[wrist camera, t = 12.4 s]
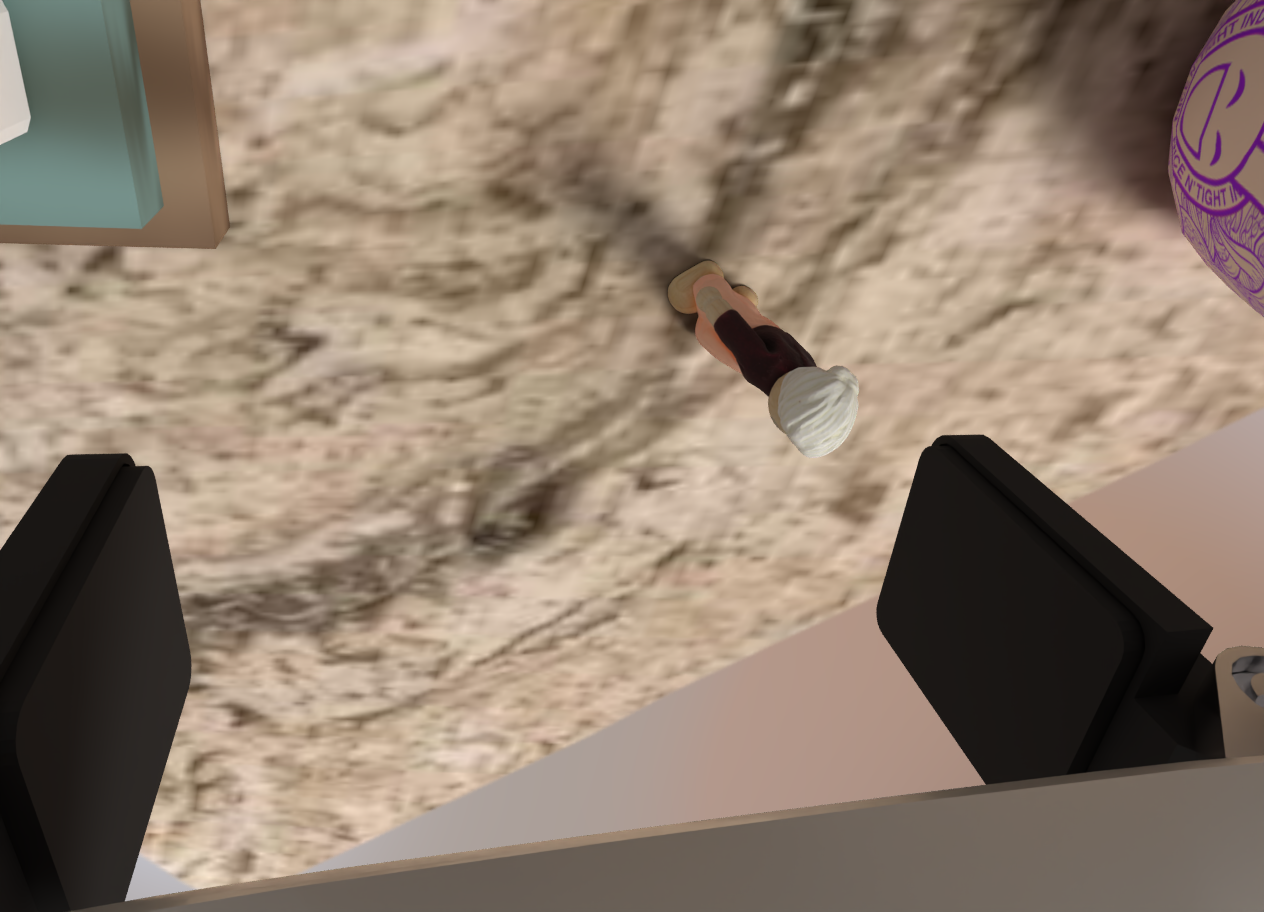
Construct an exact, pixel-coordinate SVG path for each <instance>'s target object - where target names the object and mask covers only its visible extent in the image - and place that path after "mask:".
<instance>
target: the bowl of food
mask: <svg viewBox="0 0 1264 912" xmlns="http://www.w3.org/2000/svg"><path fill="white" fill-rule="evenodd" d="M1168 173H1169V178H1170V182H1171V187H1172V191H1173V195H1174V200H1175V204H1176V208H1177V213H1178V217H1179V221H1180V225H1181V229H1182V233H1183V234H1184V236H1185V237H1186V238H1187V240H1188V241H1189V242H1190V244H1191V245H1192V246H1193V248H1194V249H1195V250H1196V251H1197V253H1198V254H1199V255H1200V257H1201V258H1202V259H1203V261H1204V262H1205V263H1206V265H1207V266H1208V267H1209V268H1210V269H1211V270H1212V271H1213V272H1214V273H1215V274H1216V275H1217V276H1218V277H1219V278H1220V279H1221V280H1222V281H1223V282H1224V283H1225V284H1226V285H1227V286H1228V287H1229V288H1230V289H1231V290H1233V291H1234V292H1235V293H1236V294H1237V295H1238V296H1239V297H1241V298H1242V299H1243V300H1244V301H1245V302H1246V303H1247V304H1248V305H1250V306H1251V307H1252V308H1253V309H1254V310H1256V311H1257V312H1258V313H1259V314H1261V315H1262V316H1263V317H1264V0H1235V2H1234V3H1233V4H1232V5H1231V6H1230V7H1229V8H1228V9H1227V10H1226V11H1225V13H1224V14H1223V16H1222V17H1221V19H1220V21H1219V22H1218V24H1217V26H1216V27H1215V29H1214V31H1213V32H1212V34H1211V35H1210V37H1209V39H1208V40H1207V42H1206V44H1205V45H1204V47H1203V49H1202V50H1201V52H1200V53H1199V55H1198V57H1197V58H1196V60H1195V62H1194V63H1193V65H1192V67H1191V70H1190V73H1189V76H1188V78H1187V81H1186V84H1185V87H1184V90H1183V93H1182V95H1181V98H1180V101H1179V104H1178V107H1177V110H1176V112H1175V115H1174V118H1173V122H1172V132H1171V143H1170V153H1169V164H1168Z"/></svg>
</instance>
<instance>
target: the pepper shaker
mask: <svg viewBox="0 0 1264 912" xmlns="http://www.w3.org/2000/svg"><path fill="white" fill-rule="evenodd" d="M30 119H31V116H30V111H29V106H28V102H27V97H26V92H25V88H24V83H23V78H22V74H21V69H20V64H19V59H18V55H17V50H16V45H15V41H14V36H13V31H12V27H11V22H10V17H9V13H8V10H7V9H6V7H5V5H4V3H3V1H2V0H0V145H1V144H3V143H5V142H7V141H9V140H12V139H14V138H16V137H18V136H20V135H22V134H24V133H26V132H27V131H28V127H29V123H30Z"/></svg>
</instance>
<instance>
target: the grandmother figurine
mask: <svg viewBox="0 0 1264 912" xmlns="http://www.w3.org/2000/svg"><path fill="white" fill-rule="evenodd" d="M668 298H669V301H670V303H671V304H672V306H673V307H674V308H675V309H676V310H677V311H679V312H682V313H686V314H691V313H696V312H698V316H699V317H698V320H697V323H696V328H695V334H696V337H697V340H698V341H699V343H700V344H701V345H702V346H703V347H704V348H705V349H706V350H707V351H708V352H709V353H710V354H712V355H713V356H714V357H715V358H717V359H718V360H719V361H721V362H722V363H724V364H726V365H727V366H729V367H731V368H732V369H734V370H736V371H738V372H739V373H741V374H743V376H744V378H745V379H746V380H747V381H748V382H749V383H751V384H752V385H754V386H756V387H757V388H759V389H760V390H761V391H763V392H764V393H765V394H766V395H767V396H769V399H768V407H769V413H770V416H771V418H772V420H773V422H774V424H775V425H776V426H777V427H778V428H779V429H780V430H781V431H782V432H783V433H785V434H786V435H787V436H788V438H789V439H790V440H791V442H792V443H793V444H794V445H795V446H796V447H797V448H798V450H799V451H800V452H801V453H802V454H803V455H805V456H806V457H810V458H817V457H820V456H824V455H827V454H828V453H830V452H832V451H833V450H835V449H836V448H838V447H839V446H840V445H841V444H842V443H843V441H844V440H845V439H846V438H847V436H848V435H849V433H850V430H851V429H852V427H853V424H854V422H855V418H856V414H857V410H858V400H857V396H858V393H859V387H858V380H857V378H856V377H855V376H854V375H853V374H852V373H851V372H850V371H849V370H848V369H847V368H845V367H843V366H833V367H832V368H830V369H829V370H827V371H825V370H823V369H821V368H819V367H817V366H816V364H815V362H814V360H813V358H812V357H811V355H810V354H809V353H808V352H807V351H806V350H805V349H804V348H803V347H802V346H801V345H800V344H799V343H798V342H797V341H796V340H795V339H794V338H793V337H792V336H791V335H790V334H789V333H786V332H784V331H783V330H781V329H780V328H779V327H778V326H777V325H776V324H775V323H773V322H772V321H771V320H769V319H768V318H766V317H764V316H762V315H761V314H760V312H759V311H758V309H757V305H758V298H757V295H756V293H755V292H754V291H753V290H751V289H750V288H748V287H746V286H738V287H735V288H733V289H732V288H731V287H730V285H729V284H728V283H727V281H726V280H725V279H724V275H723V272H722V270H721V268H720V267H719V266H718V265H717V264H716V263H715V262H713V261H703V262H701V263H699V264H697V265H695V266H694V267H692V268H690V269H689V270H687V271H685V272H683V273H682V274H680V275H678V276H677V277H676V278H674V279H673V281H672V282H671V284H670V285H669V288H668Z"/></svg>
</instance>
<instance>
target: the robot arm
mask: <svg viewBox="0 0 1264 912" xmlns="http://www.w3.org/2000/svg"><path fill="white" fill-rule="evenodd" d="M877 622H878V625H879V628H880V630H881V632H882V634H883V635H884V637H885V638H886V640H887V641H888V643H889V644H890V646H891V647H892V649H893V650H894V651H895V653H896V654H897V656H898V657H899V659H900V660H901V662H902V663H903V664H904V666H905V667H906V669H907V670H908V672H909V673H910V675H911V676H912V678H913V679H914V681H915V682H916V683H917V685H918V686H919V688H920V689H921V691H922V692H923V694H924V695H925V697H926V698H927V699H928V701H929V702H930V704H931V705H932V706H933V708H934V710H935V711H936V712H937V714H938V715H939V717H940V718H941V720H942V721H943V723H944V724H945V726H946V727H947V728H948V730H949V731H950V733H951V734H952V736H953V737H954V738H955V740H956V742H957V743H958V745H959V746H960V747H961V749H962V750H963V752H964V753H965V755H966V756H967V758H968V759H969V761H970V762H971V764H972V765H973V766H974V768H975V769H976V771H977V772H978V774H979V775H980V776H981V778H982V779H983V781H984V782H985V784H986V785H981V786H972V787H964V788H956V789H948V790H939V791H931V792H923V793H915V794H907V795H898V796H891V797H882V798H875V799H867V800H859V801H851V802H843V803H835V804H827V805H819V806H813V807H804V808H796V809H788V810H780V811H772V812H764V813H757V814H749V815H741V816H734V817H726V818H718V819H710V820H702V821H694V822H687V823H680V824H671V825H664V826H655V827H648V828H640V829H632V830H624V831H617V832H610V833H602V834H594V835H587V836H579V837H572V838H564V839H557V840H550V841H542V842H535V843H527V844H520V845H512V846H505V847H497V848H490V849H482V850H475V851H467V852H460V853H452V854H444V855H437V856H431V857H422V858H415V859H408V860H400V861H392V862H385V863H377V864H370V865H362V866H355V867H348V868H341V869H334V870H327V871H320V872H313V873H306V874H300V875H293V876H286V877H279V878H272V879H265V880H258V881H252V882H245V883H238V884H231V885H224V886H218V887H211V888H205V889H198V890H192V891H185V892H179V893H172V894H166V895H159V896H153V897H148V898H143V899H137V900H131V901H125V898H126V895H127V892H128V888H129V885H130V881H131V878H132V875H133V872H134V868H135V865H136V862H137V858H138V855H139V852H140V848H141V845H142V842H143V839H144V835H145V832H146V829H147V825H148V822H149V819H150V815H151V812H152V809H153V805H154V802H155V799H156V795H157V792H158V789H159V785H160V782H161V779H162V775H163V772H164V769H165V765H166V762H167V759H168V756H169V752H170V749H171V746H172V742H173V739H174V736H175V732H176V729H177V726H178V722H179V719H180V716H181V712H182V709H183V706H184V702H185V699H186V696H187V692H188V689H189V685H190V679H191V655H190V649H189V644H188V639H187V634H186V629H185V624H184V619H183V614H182V609H181V604H180V599H179V594H178V589H177V584H176V579H175V574H174V569H173V564H172V559H171V554H170V549H169V544H168V539H167V534H166V529H165V524H164V519H163V514H162V509H161V504H160V499H159V494H158V489H157V484H156V479H155V476H154V473H153V471H152V469H151V468H150V467H149V466H135V463H134V461H133V459H132V457H131V456H130V455H128V454H127V453H124V454H78V455H67V456H66V457H65V458H63V459H62V461H61V462H60V464H59V465H58V467H57V468H56V470H55V471H54V472H53V474H52V475H51V477H50V478H49V480H48V481H47V483H46V484H45V486H44V487H43V489H42V490H41V492H40V493H39V494H38V496H37V497H36V499H35V500H34V502H33V503H32V505H31V506H30V508H29V509H28V511H27V512H26V513H25V515H24V516H23V518H22V519H21V521H20V522H19V524H18V525H17V527H16V528H15V530H14V531H13V532H12V534H11V535H10V537H9V538H8V540H7V541H6V543H5V544H4V546H3V547H2V549H1V550H0V912H1264V648H1262V647H1250V646H1238V647H1232V648H1227V649H1225V650H1224V651H1223V652H1221V653H1220V654H1219V655H1218V656H1217V657H1216V659H1215V661H1214V663H1213V664H1211V662H1209V661H1208V660H1207V659H1206V658H1205V657H1204V656H1203V655H1202V654H1200V652H1201V650H1202V649H1203V647H1204V645H1205V643H1206V641H1207V639H1208V637H1209V635H1210V634H1211V632H1212V630H1213V627H1212V626H1210V625H1209V624H1208V623H1207V622H1206V621H1204V620H1203V619H1202V618H1201V617H1200V616H1199V615H1197V614H1196V613H1195V612H1194V611H1193V610H1191V609H1190V608H1189V607H1188V606H1187V605H1185V604H1184V603H1183V602H1182V601H1181V600H1180V599H1178V598H1177V597H1176V596H1175V595H1174V594H1172V593H1171V592H1170V591H1169V590H1168V589H1167V588H1166V587H1164V586H1163V585H1162V584H1161V583H1159V582H1158V581H1157V580H1156V579H1155V578H1154V577H1153V576H1151V575H1150V574H1149V573H1148V572H1147V571H1145V570H1144V569H1143V568H1142V567H1141V566H1139V565H1138V564H1137V563H1136V562H1135V561H1134V560H1132V559H1131V558H1130V557H1129V556H1128V555H1127V554H1125V553H1124V552H1123V551H1122V550H1121V549H1120V548H1118V547H1117V546H1116V545H1115V544H1114V543H1112V542H1111V541H1110V540H1109V539H1108V538H1107V537H1105V536H1104V535H1103V534H1102V533H1100V532H1099V531H1098V530H1097V529H1096V528H1095V527H1093V526H1092V525H1091V524H1090V523H1089V522H1087V521H1086V520H1085V519H1084V518H1083V517H1082V516H1081V515H1079V514H1078V513H1077V512H1076V511H1075V510H1073V509H1072V508H1071V507H1070V506H1069V505H1068V504H1066V503H1065V502H1064V501H1063V500H1062V499H1061V498H1059V497H1058V496H1057V495H1056V494H1055V493H1053V492H1052V491H1051V490H1050V489H1049V488H1048V487H1046V486H1045V485H1044V484H1043V483H1042V482H1040V481H1039V480H1038V479H1037V478H1036V477H1035V476H1033V475H1032V474H1031V473H1030V472H1029V471H1027V470H1026V469H1025V468H1024V467H1023V466H1022V465H1020V464H1019V463H1018V462H1017V461H1016V460H1014V459H1013V458H1012V457H1011V456H1010V455H1009V454H1007V453H1006V452H1005V451H1004V450H1003V449H1002V448H1000V447H999V446H998V445H997V444H996V443H994V442H993V441H992V440H991V439H990V438H988V437H986V436H985V435H942V436H940V437H938V438H937V439H936V440H935V441H934V442H933V444H932V446H929V447H927V448H925V449H924V451H923V452H922V454H921V456H920V459H919V462H918V465H917V469H916V472H915V476H914V479H913V483H912V486H911V490H910V493H909V496H908V500H907V503H906V507H905V510H904V514H903V517H902V521H901V524H900V527H899V531H898V534H897V538H896V541H895V545H894V548H893V552H892V555H891V558H890V562H889V565H888V569H887V572H886V576H885V579H884V583H883V586H882V589H881V593H880V596H879V600H878V604H877Z"/></svg>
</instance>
